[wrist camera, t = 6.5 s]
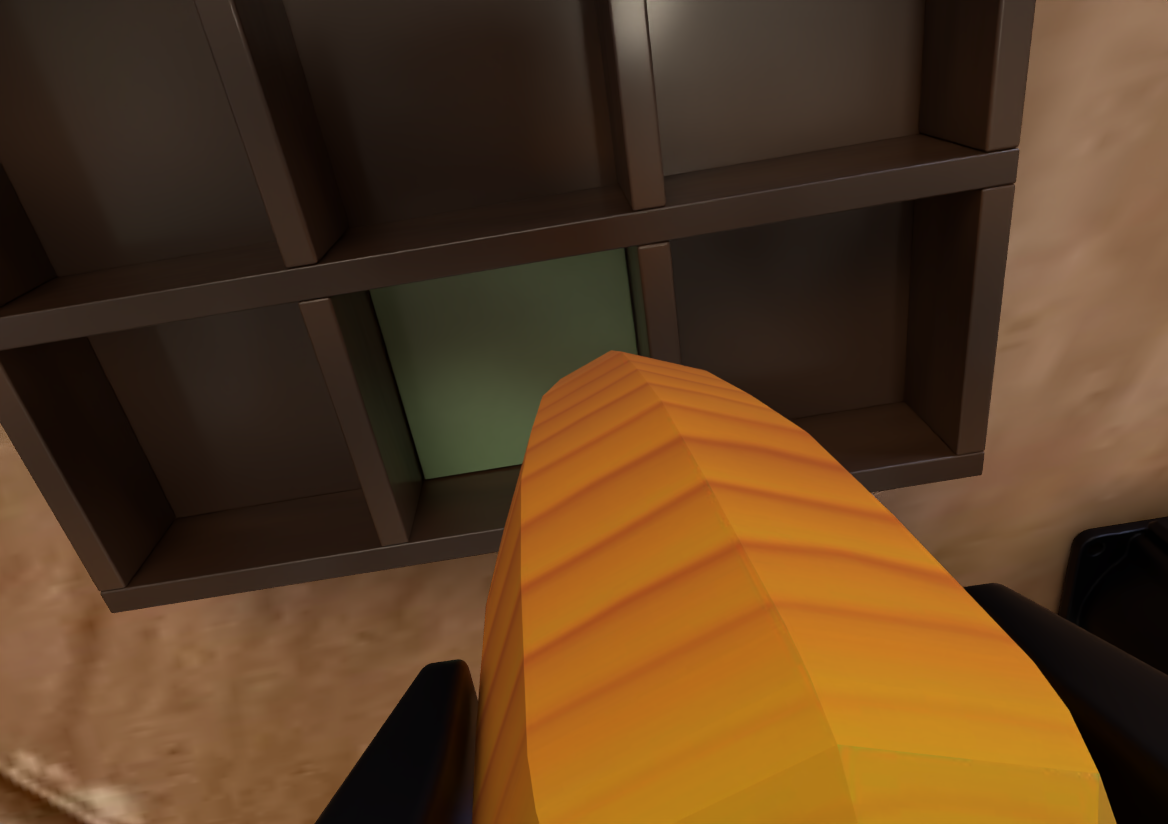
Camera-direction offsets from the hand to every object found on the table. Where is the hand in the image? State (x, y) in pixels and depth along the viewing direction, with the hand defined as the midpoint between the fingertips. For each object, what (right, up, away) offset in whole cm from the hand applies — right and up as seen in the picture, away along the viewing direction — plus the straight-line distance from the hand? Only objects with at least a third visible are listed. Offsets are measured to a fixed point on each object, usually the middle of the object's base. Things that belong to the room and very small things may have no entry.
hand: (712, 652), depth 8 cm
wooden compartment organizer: (-4, +7, +11) cm, 13 cm away
